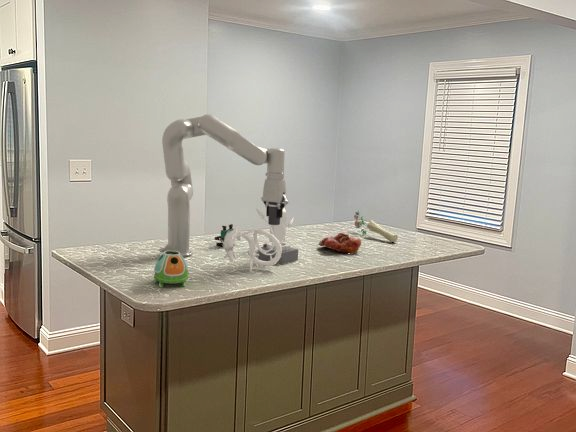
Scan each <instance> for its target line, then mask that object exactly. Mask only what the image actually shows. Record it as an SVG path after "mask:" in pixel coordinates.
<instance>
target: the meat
mask: <svg viewBox="0 0 576 432" xmlns="http://www.w3.org/2000/svg"><path fill="white" fill-rule="evenodd" d="M318 242H319V243H318V246H320V247H325V248H328V249H332V250H335V251H336V252H340V253H343V254H346V253H356V254H357V253H358V251H359V249H360V247H361V245H362V239H360V238H359V237H357V238H355V237H352V236H350V235H349V233H347V232H339V233H338V234H336V235H334V236H333V235H331V236H329V237H326V236H325V237H324V238H322V239H321V240H319V241H318Z"/></svg>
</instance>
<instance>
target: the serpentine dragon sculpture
mask: <svg viewBox="0 0 576 432" xmlns="http://www.w3.org/2000/svg"><path fill="white" fill-rule="evenodd" d="M256 212H257V213H258V216H259V217H260V219H262V220H265V222H266V224H267V225H268V226H269V229H270V228H271V226H270V225H269V223H268V220H267V219H266V218H265V214H264V213H263V212H262V211H260V210H259V209H258V208H256ZM294 218H295V216H293V217H292V219H290V221H289V223H288V226H287V227H288V228H287V230H286V231H285V236H284V238H283V240H282V242H281V244H282V243H283V241H284V239H285V240H286V236H287V234H288V233H289V229H290V228H292V226H293V223H294ZM271 231H272V228H271ZM250 234H252V236H251V235H250ZM258 234H259V235H262V236H265V237H267V238H268V239H271V240H272V241H273V246H272V248H271V249H270V250H268V251H265V250H263V249H261V247H262V246H260V242H259V241H258V240H259V239H258ZM225 237H226V238H225ZM225 237H224V242H223V241H222V242H221V243H223V244H224V246H222V247H223V249H224V251H225V252H226V254H225V255H224V256H223V258H224V259H225V258H228V260H229V262H230V263H232V264H233V263H234V259H235V261H237V257H236V254H235V251H234V246H235V242H236V241H242V239H241V238H243V239H244V240H246V241H247V243H248V245H249V246H248V247H249V250H248V254H249V257H250V261H249V273H252V271H253V265H254V264H255V265H256V266H257V269H259V266H260V267H265V268H266V269H267V270H269V268H270V269H271V268H272V266H274V265H275V264H278V263H277V262H278V261H279V259H280V258H281V257H282V256H281V253H282V248H281V244H280V243H279V241H278V240H277V238H276V237H275V236H274V234H273V231H272V234H270V232H269V231H266V230H263V229H260V228H255V229H254V228H253V229H249V230H248V231H244V229H242V228H241V230H240V229H239V230H238V228H237V225H235V227H234V230H232V231H230V232H229V233H228V232H227V234H226V236H225ZM234 239H235V240H234ZM274 244H275V246H276V251H275V252H274V253H272V254H267V253H266V252H269V251H271V250H272V249H273V247H274ZM256 248H257V251H258V252H259V251H260V252H261V253H263V254H265V255H270V259H271V260H270V261H267V260H262V259H259V258H257V257H256V256H258V255H259V254H258V253H256ZM275 253H276V255H275V257H274V258H272V256H271V255H273V254H275ZM259 256H260V255H259ZM268 267H269V268H268Z"/></svg>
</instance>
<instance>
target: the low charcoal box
mask: <svg viewBox="0 0 576 432" xmlns="http://www.w3.org/2000/svg"><path fill="white" fill-rule="evenodd" d="M279 243H280V244H281V242H279ZM272 246H273V242H265V243H263V245H262V246H260V247H261V249H263V250H265V251H268V250H270V249H271V248H272ZM291 246H292V245H291V243H289V242H286V241H285V242H283V243H282V244H281V248H282V253H281V256H282V257H281V258H280V259H279V261H278V262H277V263H276V264H280V265H284V264H289V263H292V261H293V262H296V261H298V260H299V249H298V248H295V247H291ZM275 251H276V246H275V244H274V247H273V249H272V250H271V251H269V252H266V253H267V254H272V253H274V252H275ZM257 254H259V255H260V256H259V255H257V256H258V258H257V259H258V260H262V261H270V260H271V259H270V255H265V254H263V253H261V252H260V251H259V250H258V253H257ZM275 255H276V253H275V254H273V255H271V256H272V258H274V257H275ZM288 262H289V263H288Z"/></svg>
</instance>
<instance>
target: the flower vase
mask: <svg viewBox="0 0 576 432" xmlns="http://www.w3.org/2000/svg"><path fill="white" fill-rule="evenodd" d="M353 218H354V220H355V221H354V223H353V224H354V227H355V228H356V229H359V228H362V227H363V226H366V227H365V229H364V228H362V229H361V230H360V233H361V232H362V233H361V234H362V236H364V235H365V234H367V230H368V231H369V232H373V233H376V234H379V235H380V236H381V237H383V238H385V239H386V240H387V241H388V242H390V243H392V242H395V243H396V242H398V241H397V240H398V239H399V236H398V235H397V234H395V233H392V232H390V231H389V230H386V229H385V228H382V227H381V226H380V225H379V224H377V222H375V221H374V220H370V221H369V222H368V223H366V221H365V220H363V219H364V218H363V216H361V215H360V212H359V210H357V211H356V212H355V214H354V216H353ZM362 225H363V226H362Z"/></svg>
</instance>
